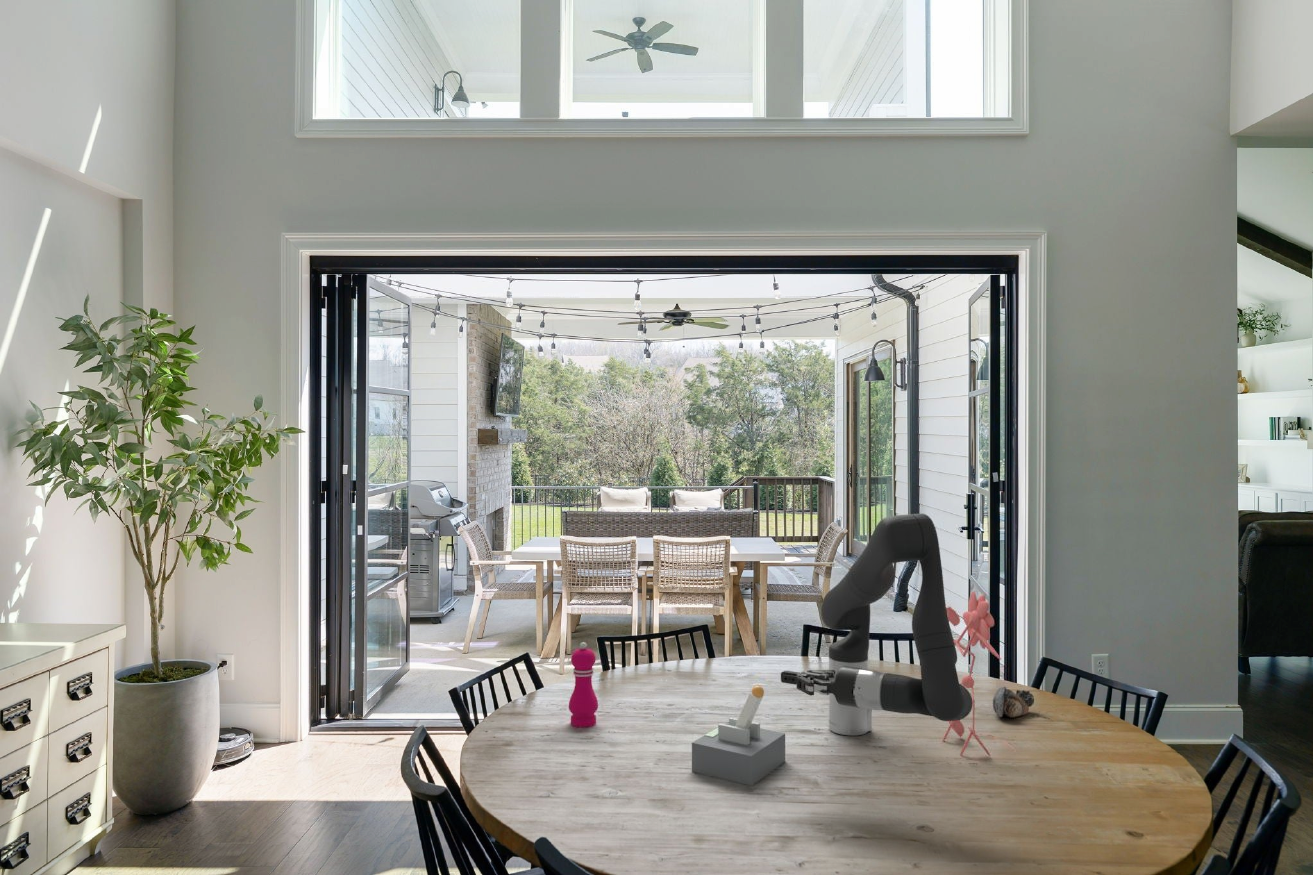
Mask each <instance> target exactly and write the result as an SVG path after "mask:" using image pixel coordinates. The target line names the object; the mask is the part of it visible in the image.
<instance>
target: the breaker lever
mask: <svg viewBox="0 0 1313 875" xmlns="http://www.w3.org/2000/svg"><path fill="white" fill-rule="evenodd" d="M764 696H765V690H764V688H763V687H762V686H761V685H754V686H753V687H752V689H751V692H749V694H748V696H747V698H746V700H745V703H744V705H743V708H742V710H741V712H740V713H739V716H738V718H737V719H738V721H737V723H736V725H735V726H736V727H740V728H745V729H749V727H750V725H751V723H752V722H753V720H754V717H755V716H756V713H757V712H758V709H759V707H760V705H761V702H762V700H763V697H764Z"/></svg>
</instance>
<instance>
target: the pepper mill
mask: <svg viewBox="0 0 1313 875" xmlns="http://www.w3.org/2000/svg"><path fill="white" fill-rule="evenodd" d="M587 647H588V644H587V642H584V641H583V642H580V644H579V648H577V649H575V650H574V651H573V652H572V654H571V658H570V661H571V662H570V663H571V665H572V666H573V667H574V668H573V669H572V671H573V676H574V680H575V681H574V687H573V688H574V689H573V691H572V693H571V696H570V697H569V702H568V710H569V712H570V713H571V714H572V715H571V716H570V725H571V726H572V727H575V728H584V729H585V728H590V727H593V726H595V725H596V724H597V716H596V714H595V713H596V712H597V711H598V708H599V701H598V697H597V696H596V692H595V690H594V686H593V682H592V681H593V680H592V677H593V675H594V668H593V667H594V665H595V663H596V655H595V652H594V651H593V650H592V649H589V648H587Z"/></svg>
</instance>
